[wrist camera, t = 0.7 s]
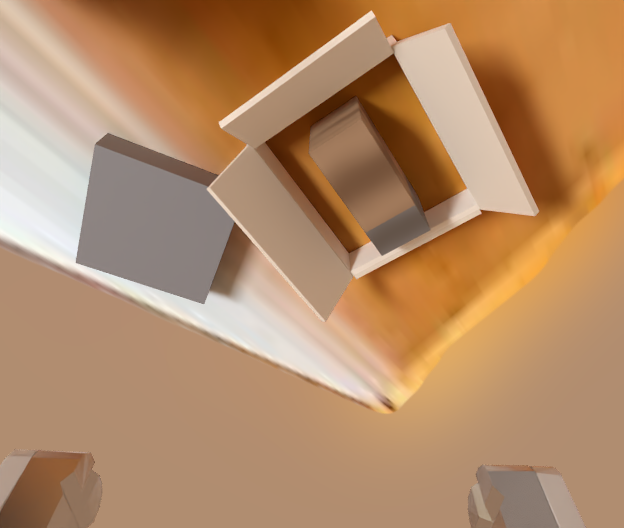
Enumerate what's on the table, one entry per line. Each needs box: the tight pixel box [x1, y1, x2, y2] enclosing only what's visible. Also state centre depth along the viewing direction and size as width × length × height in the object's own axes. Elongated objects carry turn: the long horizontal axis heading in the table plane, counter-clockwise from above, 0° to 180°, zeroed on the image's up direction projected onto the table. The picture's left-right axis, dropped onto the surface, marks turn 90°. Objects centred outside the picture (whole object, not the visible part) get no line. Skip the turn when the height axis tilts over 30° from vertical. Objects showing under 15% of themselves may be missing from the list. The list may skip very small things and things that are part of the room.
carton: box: [207, 10, 539, 322], centre depth 42 cm, size 21×22×9 cm
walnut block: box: [309, 96, 430, 256], centre depth 44 cm, size 12×5×7 cm, turn 34°
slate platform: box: [76, 133, 235, 304], centre depth 49 cm, size 14×14×3 cm
